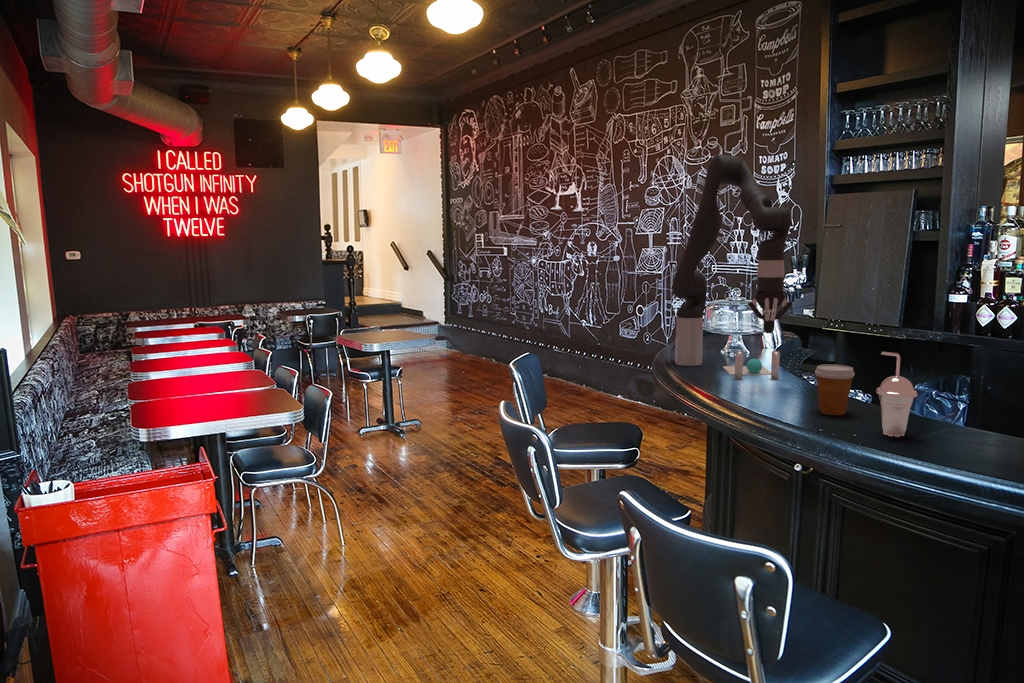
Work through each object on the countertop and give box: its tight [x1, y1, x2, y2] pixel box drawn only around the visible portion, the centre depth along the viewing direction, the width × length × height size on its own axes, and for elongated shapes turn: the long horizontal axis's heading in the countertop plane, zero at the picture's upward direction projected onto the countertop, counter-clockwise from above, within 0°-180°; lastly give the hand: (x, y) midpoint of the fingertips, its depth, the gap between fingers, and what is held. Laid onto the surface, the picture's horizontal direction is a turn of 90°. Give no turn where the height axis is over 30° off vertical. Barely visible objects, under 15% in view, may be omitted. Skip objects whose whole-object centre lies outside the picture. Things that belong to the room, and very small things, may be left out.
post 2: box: [770, 350, 781, 381], centre depth 226 cm, size 2×2×9 cm
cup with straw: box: [875, 350, 918, 438], centre depth 163 cm, size 8×9×20 cm
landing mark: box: [722, 365, 771, 376], centre depth 241 cm, size 14×14×1 cm
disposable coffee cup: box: [814, 364, 856, 416], centre depth 184 cm, size 10×10×12 cm
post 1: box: [734, 350, 744, 381], centre depth 228 cm, size 2×2×9 cm
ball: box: [745, 358, 763, 374], centre depth 236 cm, size 5×5×5 cm
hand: (768, 332), depth 212 cm, fingers closed
